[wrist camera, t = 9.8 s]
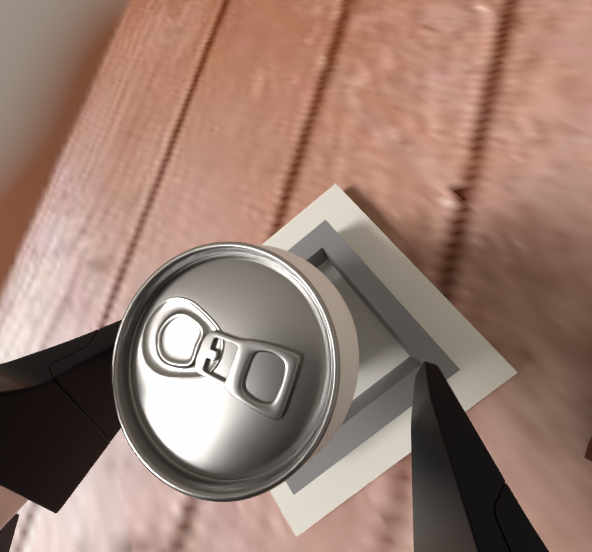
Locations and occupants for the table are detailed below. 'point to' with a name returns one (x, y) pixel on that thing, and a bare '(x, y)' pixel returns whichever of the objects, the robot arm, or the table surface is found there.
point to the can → (233, 369)
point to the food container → (589, 451)
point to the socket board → (378, 352)
